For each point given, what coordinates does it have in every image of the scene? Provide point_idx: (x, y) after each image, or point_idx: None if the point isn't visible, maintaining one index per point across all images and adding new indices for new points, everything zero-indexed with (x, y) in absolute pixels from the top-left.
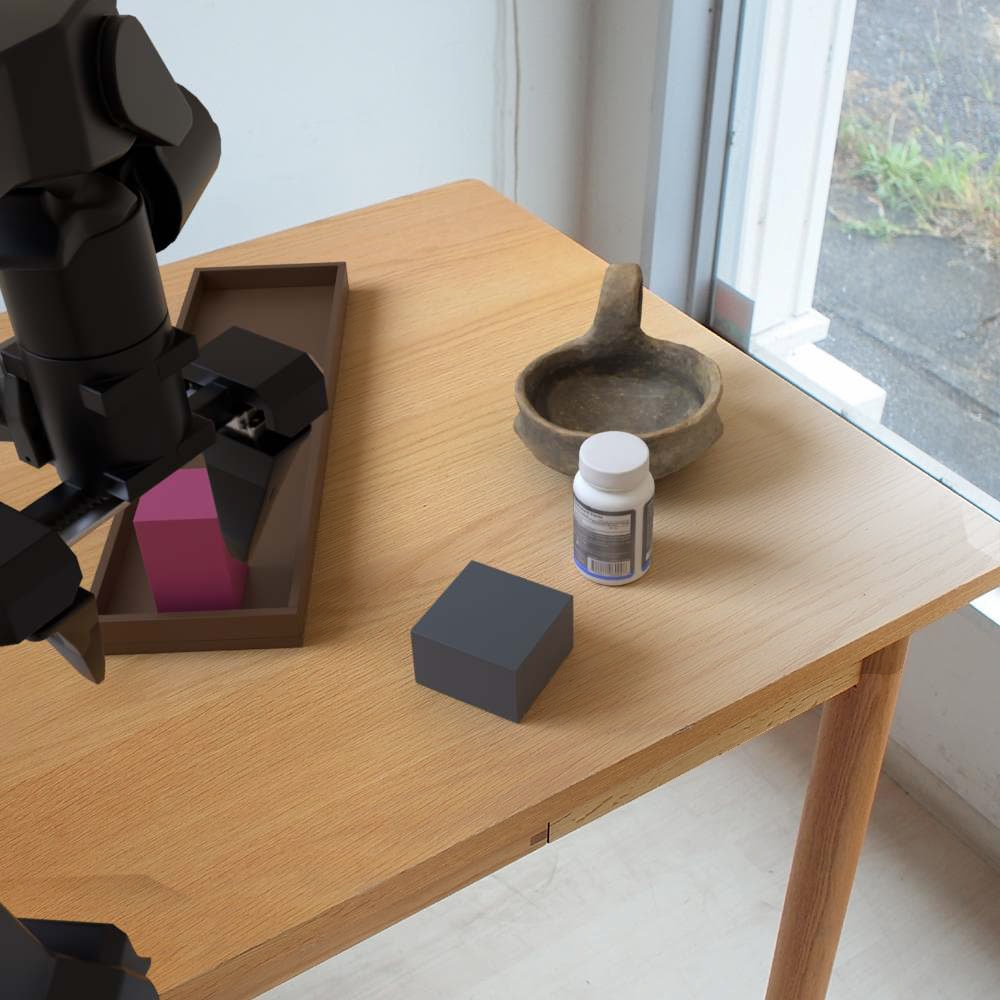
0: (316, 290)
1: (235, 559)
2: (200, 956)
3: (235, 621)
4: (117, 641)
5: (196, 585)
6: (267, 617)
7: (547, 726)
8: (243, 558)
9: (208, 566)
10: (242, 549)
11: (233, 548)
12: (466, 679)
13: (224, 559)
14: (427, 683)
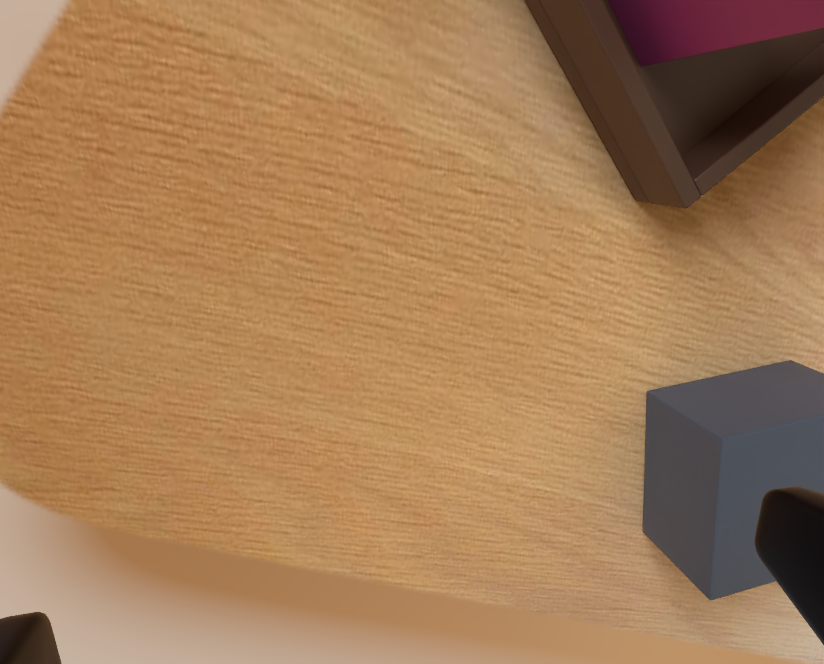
0: None
1: (761, 512)
2: (122, 516)
3: (625, 108)
4: None
5: None
6: (658, 162)
7: (653, 555)
8: (773, 565)
9: (725, 4)
10: (810, 601)
11: (804, 550)
12: (675, 495)
13: (756, 37)
14: (651, 415)
